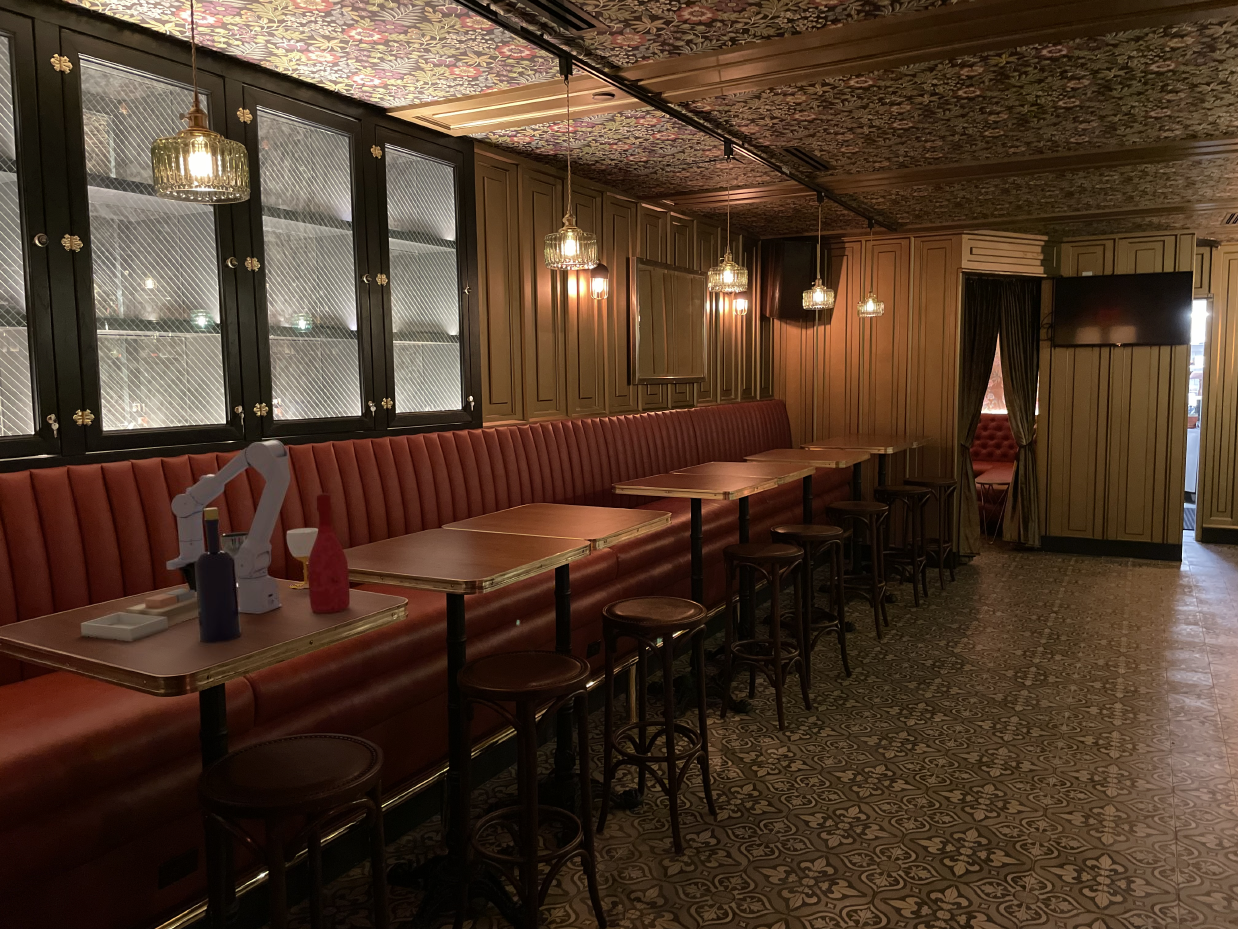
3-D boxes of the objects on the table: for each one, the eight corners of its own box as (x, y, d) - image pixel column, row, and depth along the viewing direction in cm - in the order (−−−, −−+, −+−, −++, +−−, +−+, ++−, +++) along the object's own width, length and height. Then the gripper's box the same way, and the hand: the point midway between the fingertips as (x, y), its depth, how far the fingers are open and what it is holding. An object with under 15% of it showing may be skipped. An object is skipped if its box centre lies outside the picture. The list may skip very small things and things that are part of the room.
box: (168, 629, 208) (167, 617, 208) (131, 641, 199) (130, 628, 199) (119, 624, 214) (118, 612, 214) (81, 635, 205) (80, 623, 204)
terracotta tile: (177, 603, 217) (176, 595, 217) (160, 608, 213) (159, 600, 212) (162, 601, 219) (161, 593, 219) (145, 606, 214) (144, 598, 214)
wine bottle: (301, 613, 220) (293, 495, 217) (328, 603, 229) (321, 490, 226) (332, 616, 216) (325, 496, 213) (358, 606, 225) (351, 491, 222)
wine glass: (242, 589, 248) (238, 537, 246) (218, 588, 249) (214, 537, 248) (259, 582, 255) (256, 532, 254) (235, 582, 257) (231, 532, 255)
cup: (294, 591, 243) (290, 534, 242) (285, 585, 251) (281, 530, 249) (327, 585, 249) (323, 530, 247) (317, 580, 256) (313, 526, 254)
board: (209, 612, 222) (208, 597, 222) (163, 628, 209) (162, 611, 209) (174, 609, 227) (173, 594, 226) (127, 624, 214) (126, 608, 213)
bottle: (211, 631, 205) (201, 506, 202) (249, 630, 205) (240, 505, 202) (190, 643, 196) (180, 512, 193) (231, 642, 196) (220, 511, 193)
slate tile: (195, 597, 222) (194, 590, 222) (179, 602, 218) (178, 594, 218) (180, 596, 224) (179, 588, 224) (164, 601, 220) (163, 593, 219)
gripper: (202, 533, 232) (206, 583, 234) (155, 544, 219) (160, 596, 220) (222, 534, 230) (226, 585, 231) (176, 545, 216) (181, 598, 218)
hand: (195, 591), depth 226 cm, fingers closed
